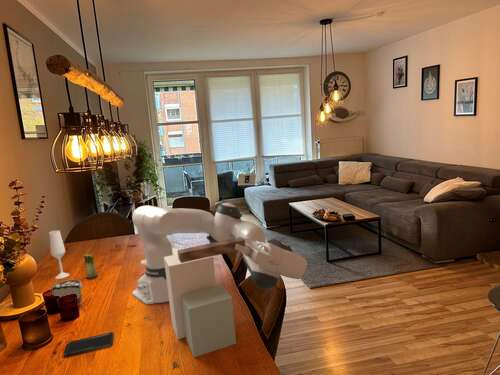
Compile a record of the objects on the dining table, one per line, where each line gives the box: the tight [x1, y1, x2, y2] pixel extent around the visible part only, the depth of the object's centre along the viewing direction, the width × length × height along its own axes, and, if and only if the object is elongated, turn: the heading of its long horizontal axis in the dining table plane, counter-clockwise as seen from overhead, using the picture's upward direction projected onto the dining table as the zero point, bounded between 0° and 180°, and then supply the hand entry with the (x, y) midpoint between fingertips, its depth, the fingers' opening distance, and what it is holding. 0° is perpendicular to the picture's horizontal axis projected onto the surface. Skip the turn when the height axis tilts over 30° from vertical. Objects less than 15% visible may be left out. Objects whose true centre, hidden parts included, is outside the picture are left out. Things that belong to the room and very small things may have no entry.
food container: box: [50, 279, 83, 308], centre depth 148 cm, size 12×6×10 cm, turn 92°
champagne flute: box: [48, 230, 70, 280], centre depth 179 cm, size 7×7×24 cm
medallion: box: [140, 246, 187, 265], centre depth 195 cm, size 24×27×2 cm
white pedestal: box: [164, 254, 217, 340], centre depth 122 cm, size 15×10×26 cm, turn 113°
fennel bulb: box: [83, 254, 98, 279], centre depth 176 cm, size 6×5×12 cm
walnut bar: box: [178, 237, 245, 263], centre depth 110 cm, size 21×4×3 cm, turn 114°
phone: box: [62, 331, 115, 358], centre depth 118 cm, size 8×1×15 cm
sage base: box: [181, 285, 237, 358], centre depth 113 cm, size 14×10×16 cm
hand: (232, 243), depth 112 cm, fingers closed on walnut bar, 3 cm apart
